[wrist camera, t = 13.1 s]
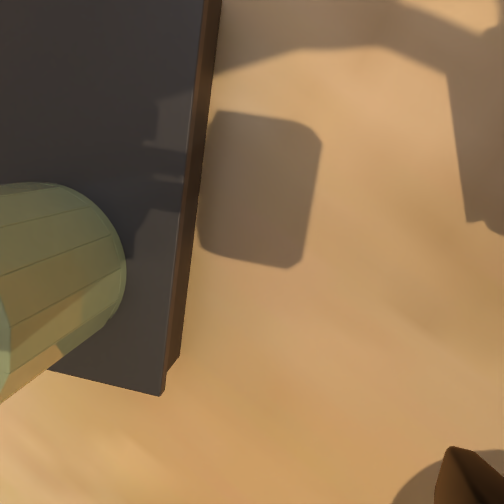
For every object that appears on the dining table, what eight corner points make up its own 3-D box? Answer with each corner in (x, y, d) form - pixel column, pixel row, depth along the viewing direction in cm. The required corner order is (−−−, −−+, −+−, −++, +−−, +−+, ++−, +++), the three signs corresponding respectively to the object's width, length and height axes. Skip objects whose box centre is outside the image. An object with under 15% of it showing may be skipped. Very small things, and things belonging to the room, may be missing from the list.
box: (230, -9, 19) (208, -40, 16) (185, 363, 23) (159, 397, 20) (-5, -34, 21) (-67, -67, 18) (-10, 318, 25) (-61, 344, 22)
